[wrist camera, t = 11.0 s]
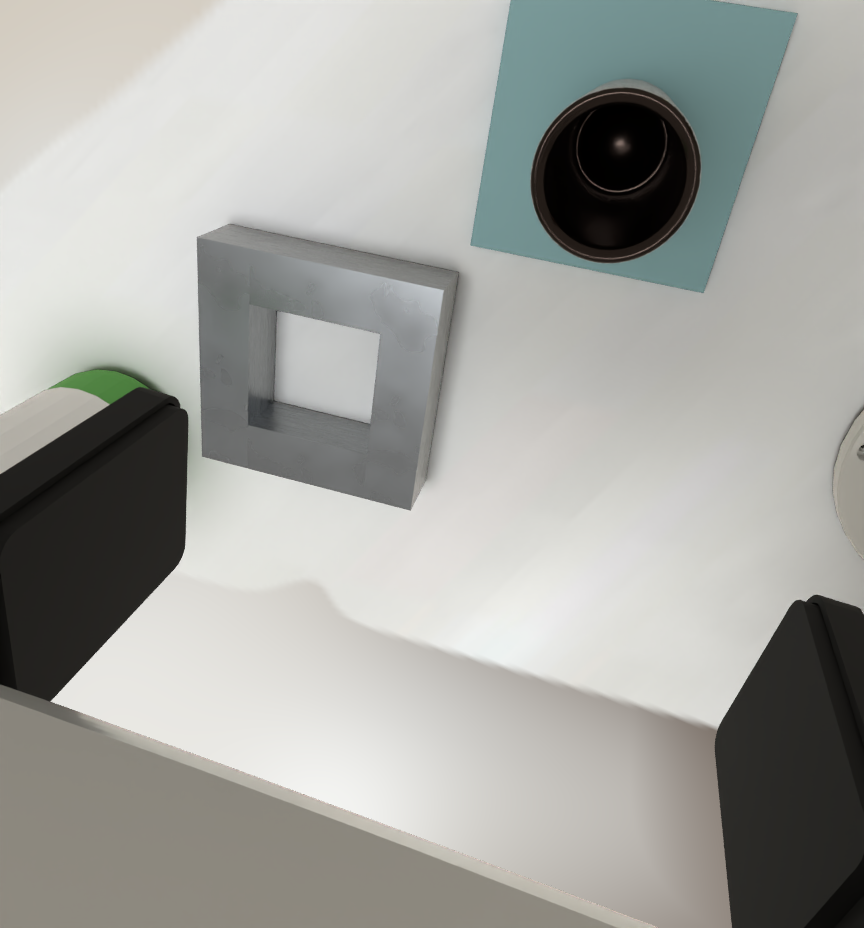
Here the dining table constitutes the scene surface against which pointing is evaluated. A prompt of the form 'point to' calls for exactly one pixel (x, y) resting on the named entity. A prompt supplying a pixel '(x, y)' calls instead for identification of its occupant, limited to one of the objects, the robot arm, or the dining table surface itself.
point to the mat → (643, 58)
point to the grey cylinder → (616, 173)
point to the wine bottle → (58, 412)
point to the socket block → (332, 300)
